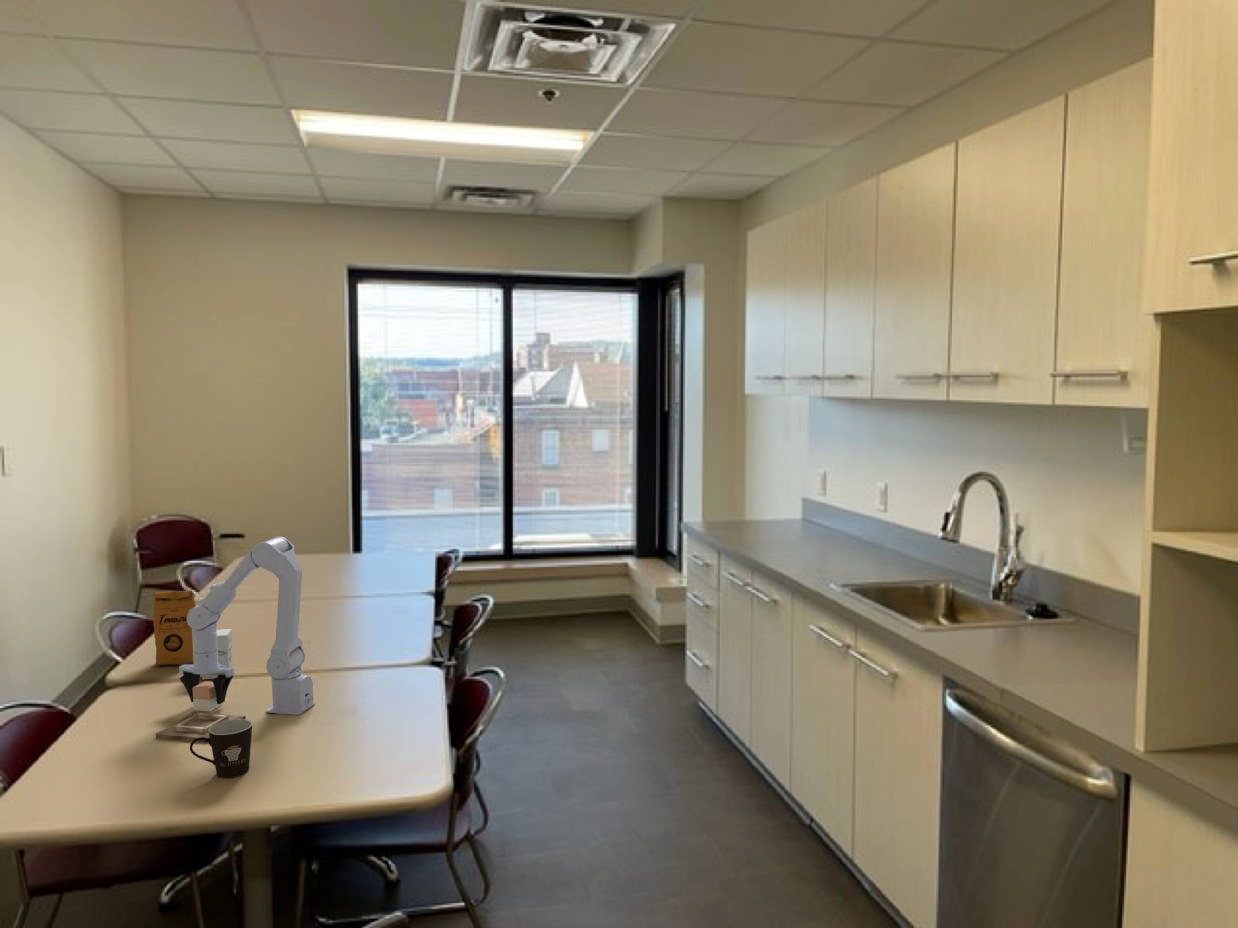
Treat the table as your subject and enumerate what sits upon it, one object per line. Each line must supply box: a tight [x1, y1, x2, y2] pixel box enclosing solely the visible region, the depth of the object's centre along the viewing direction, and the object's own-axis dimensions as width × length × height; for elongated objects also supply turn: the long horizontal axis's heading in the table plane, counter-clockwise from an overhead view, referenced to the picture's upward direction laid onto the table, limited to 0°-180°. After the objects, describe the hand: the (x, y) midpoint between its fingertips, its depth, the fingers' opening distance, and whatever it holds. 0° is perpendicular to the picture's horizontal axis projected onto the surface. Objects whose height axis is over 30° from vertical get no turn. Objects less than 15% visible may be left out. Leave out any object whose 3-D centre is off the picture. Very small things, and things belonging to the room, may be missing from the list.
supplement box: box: [201, 628, 234, 681], centre depth 250 cm, size 7×7×13 cm
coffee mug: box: [189, 719, 253, 779], centre depth 187 cm, size 12×9×10 cm
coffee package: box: [152, 590, 197, 666], centre depth 261 cm, size 10×12×22 cm
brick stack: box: [192, 681, 223, 712], centre depth 225 cm, size 5×5×6 cm
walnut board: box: [155, 711, 247, 743], centre depth 211 cm, size 14×14×2 cm
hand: (207, 701), depth 225 cm, fingers open, 7 cm apart
